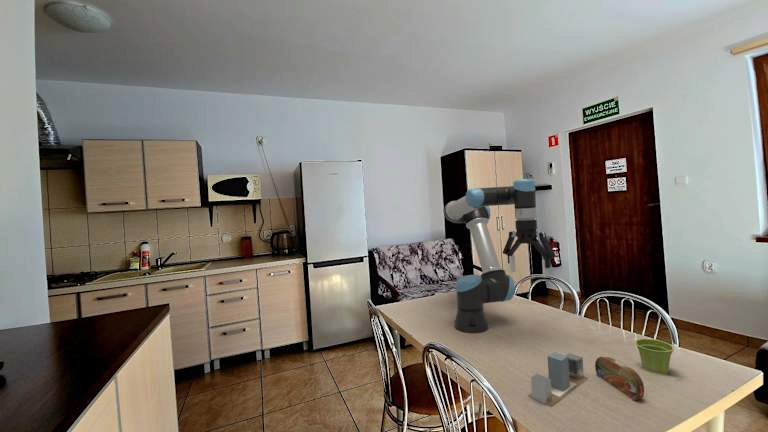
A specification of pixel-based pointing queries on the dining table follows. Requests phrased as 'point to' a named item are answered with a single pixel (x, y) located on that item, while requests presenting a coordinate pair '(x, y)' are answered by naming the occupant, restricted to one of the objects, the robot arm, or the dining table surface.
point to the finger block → (558, 371)
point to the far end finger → (575, 366)
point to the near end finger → (541, 388)
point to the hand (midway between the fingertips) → (528, 274)
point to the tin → (620, 377)
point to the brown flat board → (559, 395)
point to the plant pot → (655, 355)
